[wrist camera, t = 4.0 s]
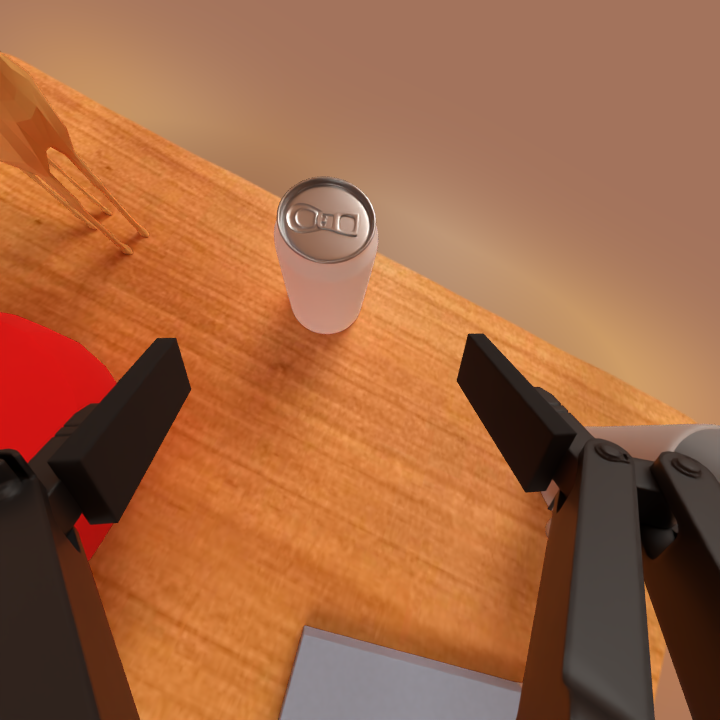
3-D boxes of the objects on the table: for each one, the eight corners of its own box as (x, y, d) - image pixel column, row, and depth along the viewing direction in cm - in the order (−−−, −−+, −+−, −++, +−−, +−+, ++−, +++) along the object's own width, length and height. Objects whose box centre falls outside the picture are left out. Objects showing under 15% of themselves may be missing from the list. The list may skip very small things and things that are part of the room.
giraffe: (228, 272, 30) (-212, -465, 5) (197, 309, 28) (-534, -405, 4) (82, 180, 30) (-925, -874, 6) (46, 213, 29) (-1372, -911, 5)
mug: (583, 409, 30) (724, 395, 19) (643, 490, 29) (827, 522, 18) (485, 484, 28) (586, 515, 17) (547, 576, 26) (695, 671, 16)
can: (295, 266, 30) (277, 162, 19) (363, 275, 31) (386, 178, 19) (286, 331, 29) (260, 262, 17) (358, 339, 29) (379, 277, 18)
